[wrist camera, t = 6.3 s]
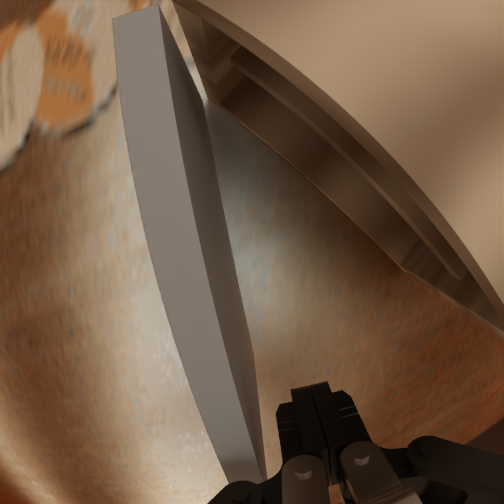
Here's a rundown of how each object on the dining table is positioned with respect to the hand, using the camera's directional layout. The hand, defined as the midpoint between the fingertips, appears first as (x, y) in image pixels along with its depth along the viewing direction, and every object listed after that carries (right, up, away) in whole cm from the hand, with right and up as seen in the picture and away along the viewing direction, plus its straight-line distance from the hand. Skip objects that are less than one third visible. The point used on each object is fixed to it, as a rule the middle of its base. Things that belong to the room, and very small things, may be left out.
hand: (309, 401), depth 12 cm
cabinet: (+7, +16, +6) cm, 19 cm away
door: (-5, +7, +8) cm, 11 cm away
